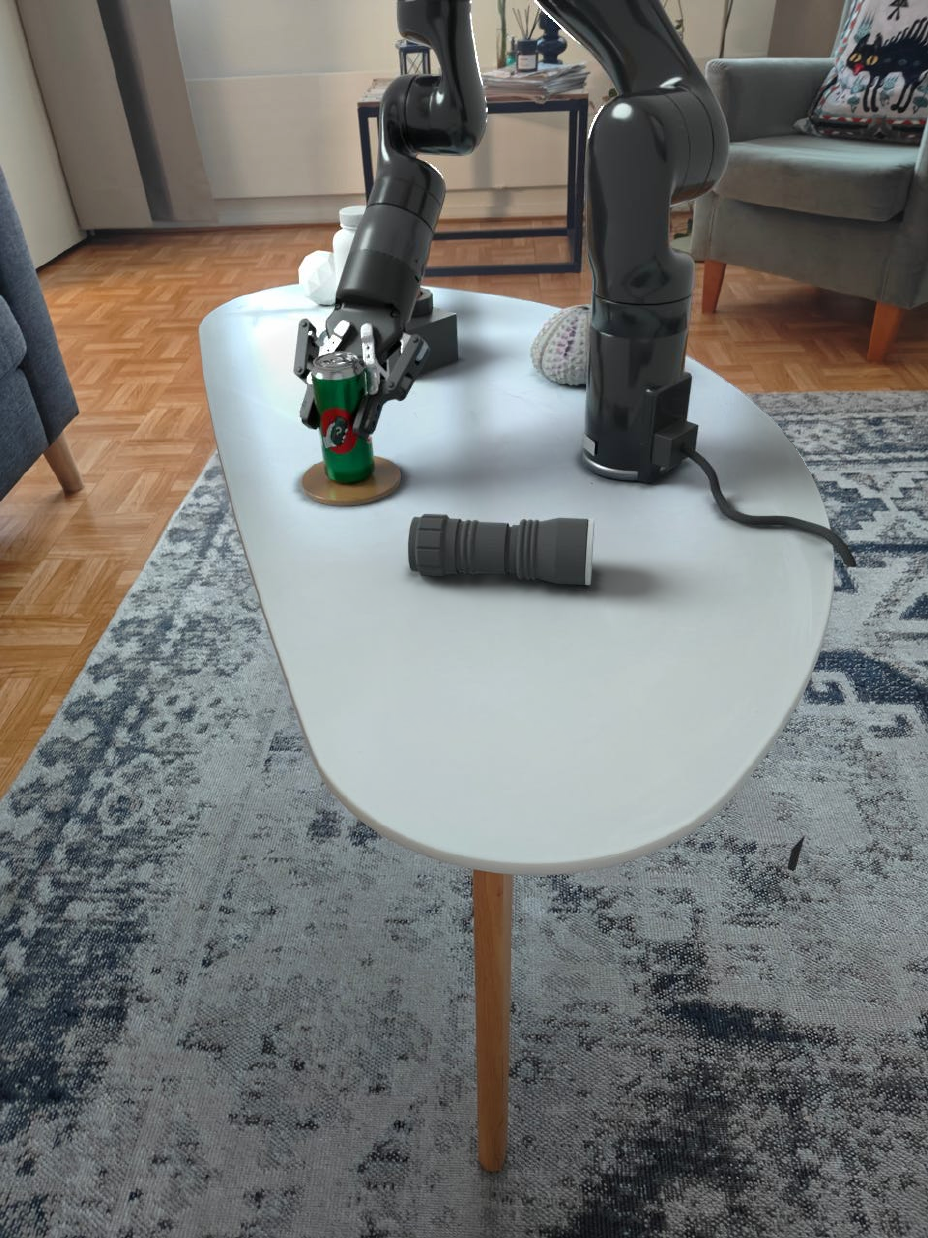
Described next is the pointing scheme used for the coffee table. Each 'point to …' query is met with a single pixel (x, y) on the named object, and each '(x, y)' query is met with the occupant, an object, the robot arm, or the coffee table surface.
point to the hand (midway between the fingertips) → (334, 430)
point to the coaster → (351, 485)
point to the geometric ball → (319, 277)
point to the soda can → (341, 417)
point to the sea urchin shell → (564, 346)
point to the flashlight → (503, 548)
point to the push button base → (432, 333)
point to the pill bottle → (345, 236)
